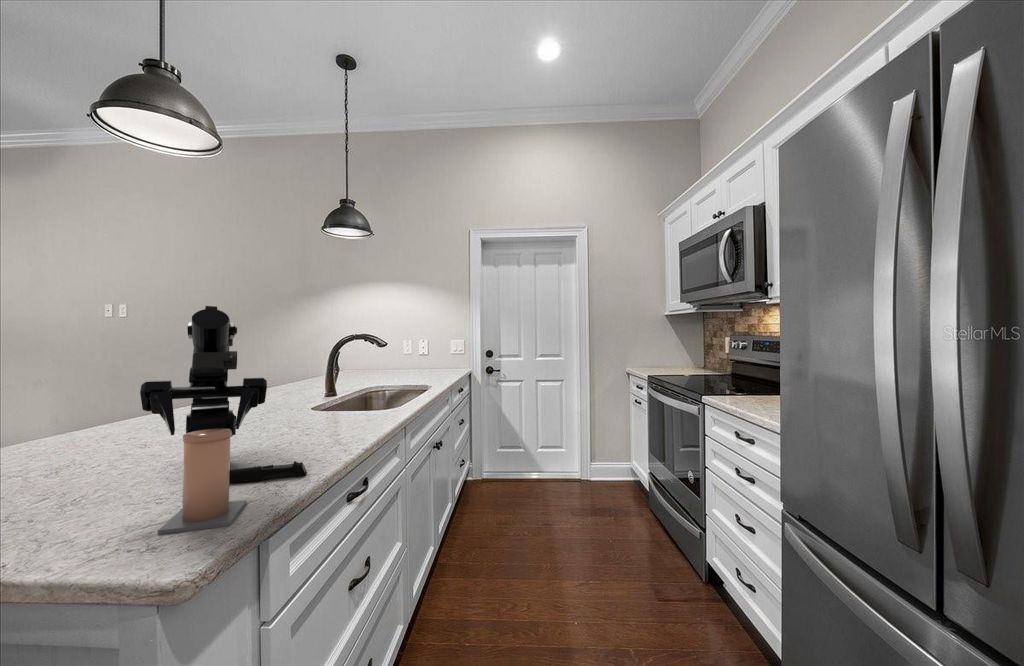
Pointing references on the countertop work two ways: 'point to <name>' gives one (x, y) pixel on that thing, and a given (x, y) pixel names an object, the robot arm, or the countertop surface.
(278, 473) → the electric trimmer
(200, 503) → the tumbler
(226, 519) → the coaster
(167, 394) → the robot arm
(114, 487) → the countertop surface
